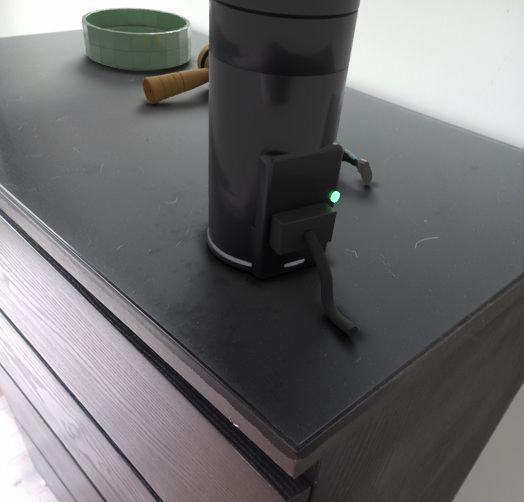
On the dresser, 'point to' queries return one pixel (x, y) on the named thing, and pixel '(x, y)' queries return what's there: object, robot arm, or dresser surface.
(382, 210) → the dresser surface
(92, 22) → the bowl
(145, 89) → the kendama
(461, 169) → the dresser surface
